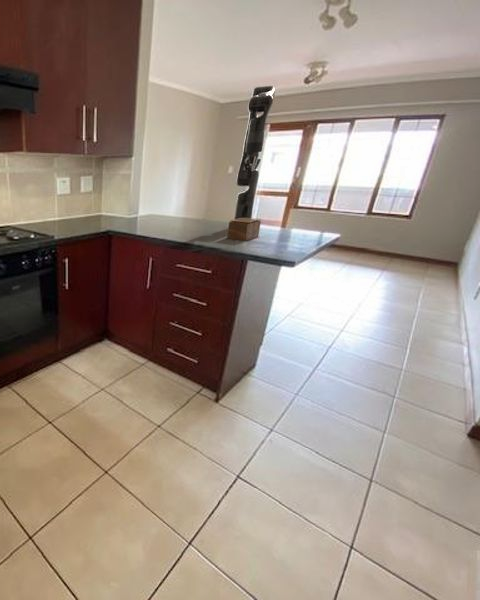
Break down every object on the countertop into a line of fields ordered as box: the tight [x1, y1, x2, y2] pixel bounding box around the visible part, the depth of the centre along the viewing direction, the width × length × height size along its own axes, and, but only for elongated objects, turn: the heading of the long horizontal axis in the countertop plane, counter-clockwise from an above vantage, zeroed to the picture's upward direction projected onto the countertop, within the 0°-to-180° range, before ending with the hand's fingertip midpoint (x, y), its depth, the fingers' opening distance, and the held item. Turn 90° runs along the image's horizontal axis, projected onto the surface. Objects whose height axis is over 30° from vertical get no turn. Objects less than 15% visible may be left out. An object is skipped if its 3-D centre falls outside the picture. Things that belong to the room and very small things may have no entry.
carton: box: [226, 219, 262, 241], centre depth 175 cm, size 13×10×9 cm
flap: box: [238, 218, 262, 221], centre depth 175 cm, size 6×10×1 cm, turn 37°
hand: (249, 178), depth 172 cm, fingers closed
